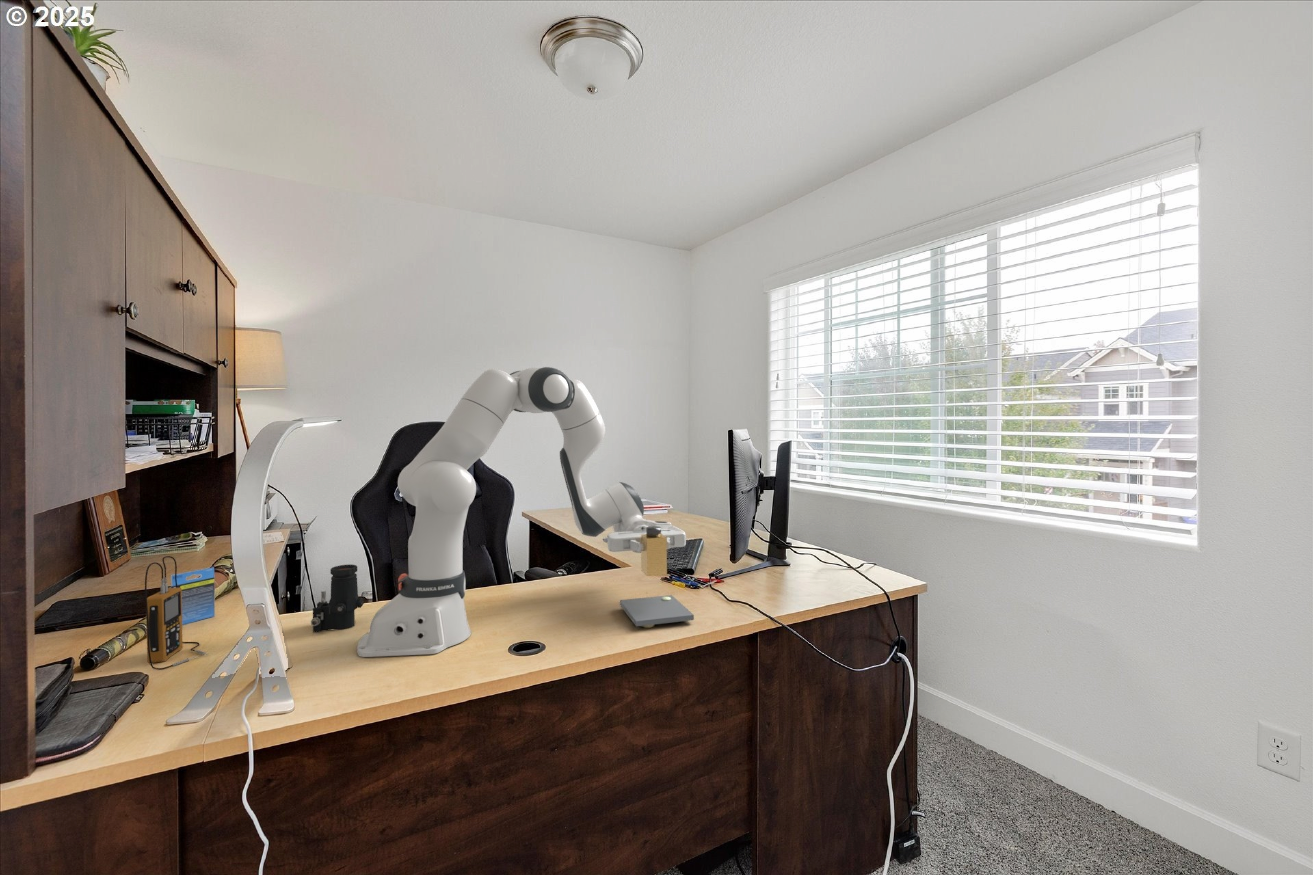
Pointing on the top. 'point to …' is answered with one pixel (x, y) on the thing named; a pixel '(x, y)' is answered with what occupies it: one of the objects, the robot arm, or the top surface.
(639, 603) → the base
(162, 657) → the multimeter
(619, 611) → the top surface
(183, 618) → the label tape box
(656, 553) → the block with dome knob
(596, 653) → the top surface
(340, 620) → the scope
